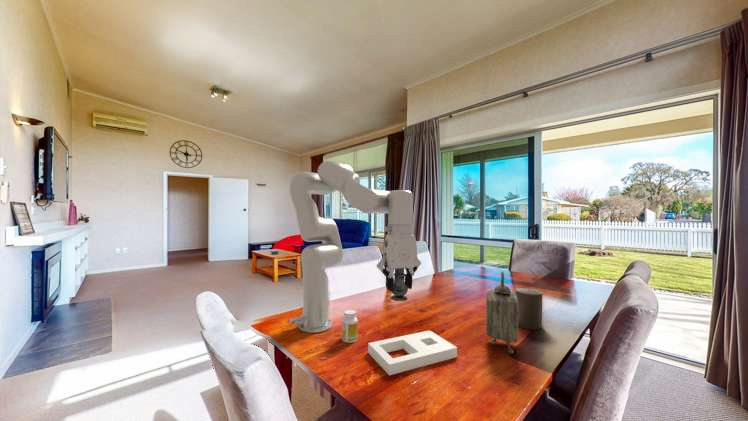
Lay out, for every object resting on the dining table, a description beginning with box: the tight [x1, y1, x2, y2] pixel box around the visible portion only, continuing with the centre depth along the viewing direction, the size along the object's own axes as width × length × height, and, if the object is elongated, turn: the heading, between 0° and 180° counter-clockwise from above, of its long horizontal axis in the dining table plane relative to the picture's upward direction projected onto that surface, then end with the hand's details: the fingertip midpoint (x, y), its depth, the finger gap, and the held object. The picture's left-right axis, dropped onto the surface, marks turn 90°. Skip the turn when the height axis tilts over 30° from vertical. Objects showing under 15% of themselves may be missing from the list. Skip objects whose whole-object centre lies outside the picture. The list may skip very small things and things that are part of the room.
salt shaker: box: [390, 268, 409, 302], centre depth 90 cm, size 6×6×12 cm
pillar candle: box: [515, 287, 543, 331], centre depth 117 cm, size 10×10×15 cm
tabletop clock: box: [485, 271, 519, 355], centre depth 99 cm, size 14×9×25 cm, turn 160°
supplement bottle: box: [341, 309, 359, 344], centre depth 102 cm, size 5×5×10 cm
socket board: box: [367, 330, 458, 376], centre depth 92 cm, size 24×14×3 cm, turn 116°
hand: (399, 288), depth 90 cm, fingers closed on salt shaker, 5 cm apart
